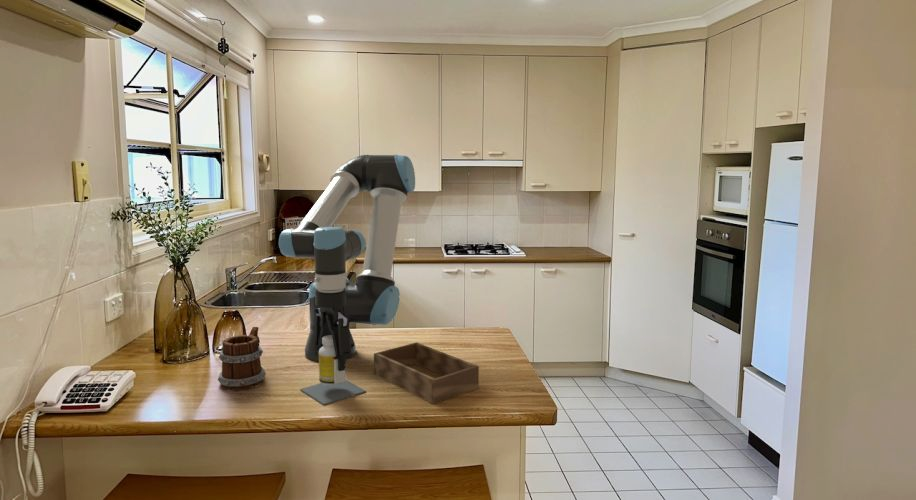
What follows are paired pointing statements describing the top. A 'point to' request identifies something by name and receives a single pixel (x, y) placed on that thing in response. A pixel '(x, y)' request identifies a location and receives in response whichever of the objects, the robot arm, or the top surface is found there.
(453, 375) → the box frame
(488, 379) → the top surface
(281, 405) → the top surface
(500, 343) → the top surface
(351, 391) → the slate mat
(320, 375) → the pill bottle
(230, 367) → the mug
